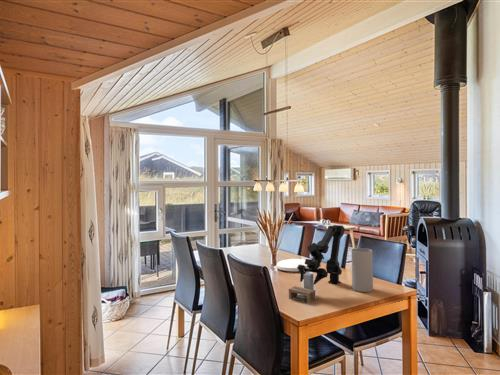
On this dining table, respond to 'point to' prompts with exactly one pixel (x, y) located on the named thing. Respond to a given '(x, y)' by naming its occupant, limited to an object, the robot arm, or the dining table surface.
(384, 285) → the dining table surface
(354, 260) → the cylinder vase
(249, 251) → the dining table surface
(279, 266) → the plate
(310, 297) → the brown hollow brick
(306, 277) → the tall grey prism
